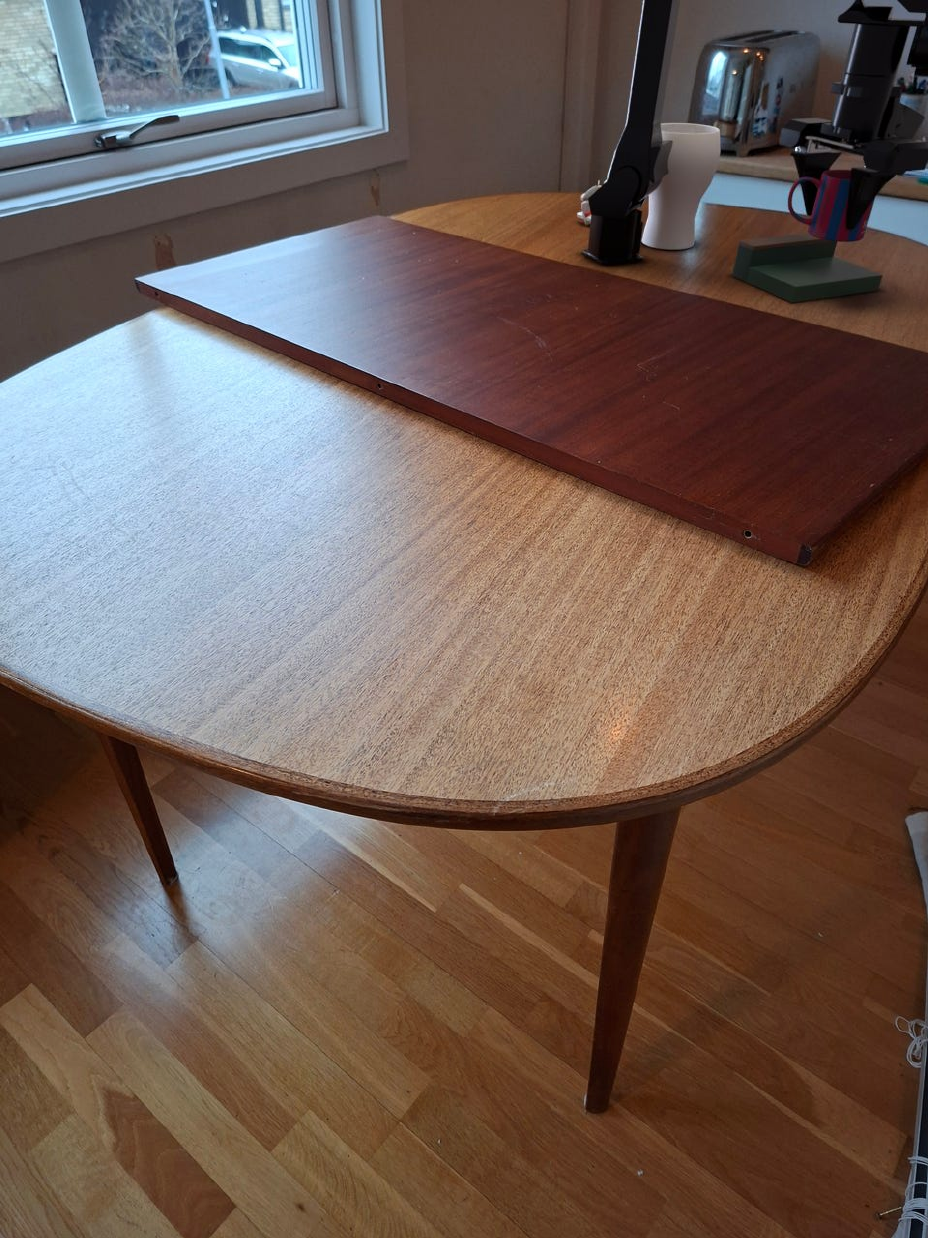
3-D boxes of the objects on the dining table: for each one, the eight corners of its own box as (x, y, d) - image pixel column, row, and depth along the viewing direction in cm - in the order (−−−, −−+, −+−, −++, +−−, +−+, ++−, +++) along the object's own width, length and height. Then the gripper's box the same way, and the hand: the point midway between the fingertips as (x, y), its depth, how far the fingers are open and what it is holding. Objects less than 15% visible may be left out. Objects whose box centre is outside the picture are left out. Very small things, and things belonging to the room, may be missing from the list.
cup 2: (864, 244, 103) (882, 182, 99) (779, 235, 106) (793, 175, 101) (862, 231, 108) (879, 171, 104) (781, 223, 111) (795, 165, 106)
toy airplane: (635, 218, 138) (641, 174, 134) (626, 232, 131) (632, 186, 127) (580, 213, 140) (584, 170, 136) (568, 226, 133) (572, 181, 129)
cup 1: (617, 241, 126) (630, 126, 117) (660, 230, 132) (676, 119, 123) (675, 257, 120) (694, 137, 111) (718, 244, 126) (739, 129, 117)
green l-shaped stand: (791, 303, 105) (800, 265, 102) (732, 275, 114) (739, 240, 111) (878, 290, 109) (889, 254, 107) (814, 265, 118) (823, 230, 115)
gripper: (990, 81, 91) (937, 235, 101) (864, 63, 105) (828, 200, 114) (912, 84, 88) (865, 243, 98) (792, 65, 101) (762, 206, 111)
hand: (830, 222), depth 105 cm, fingers closed on cup 2, 7 cm apart
